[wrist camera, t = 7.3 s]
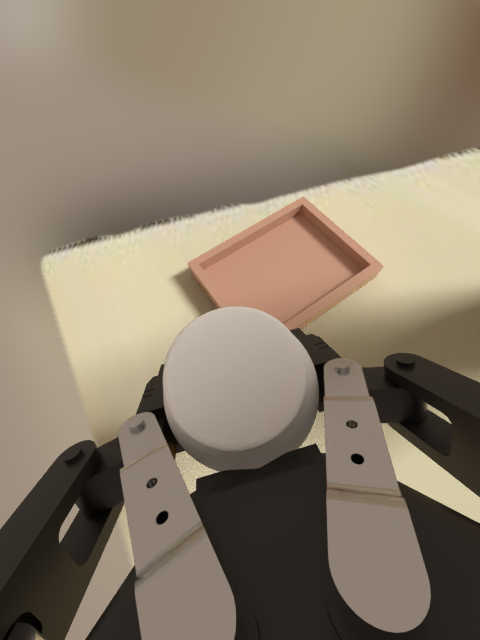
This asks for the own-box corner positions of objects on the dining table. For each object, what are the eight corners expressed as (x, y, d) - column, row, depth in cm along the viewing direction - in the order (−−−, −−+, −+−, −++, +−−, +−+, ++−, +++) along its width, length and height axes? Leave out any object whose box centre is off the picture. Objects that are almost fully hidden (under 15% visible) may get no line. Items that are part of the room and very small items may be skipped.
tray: (300, 210, 36) (303, 196, 34) (375, 277, 31) (383, 266, 29) (191, 273, 33) (187, 262, 31) (255, 360, 28) (256, 354, 26)
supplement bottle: (217, 354, 18) (171, 267, 8) (297, 372, 17) (348, 297, 8) (193, 441, 16) (96, 456, 6) (284, 466, 15) (330, 525, 5)
